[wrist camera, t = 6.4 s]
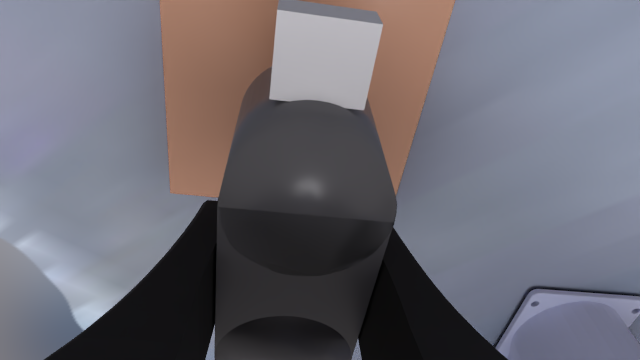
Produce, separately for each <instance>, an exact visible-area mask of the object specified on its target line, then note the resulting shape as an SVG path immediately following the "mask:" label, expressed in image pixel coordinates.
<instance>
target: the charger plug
mask: <svg viewBox="0 0 640 360" xmlns="http://www.w3.org/2000/svg"><path fill="white" fill-rule="evenodd" d="M382 28H383V23H382V21H381V19H380V17H379V15H378V13H377V12H375V11H368V10H361V9H354V8H347V7H340V6H334V5H327V4H320V3H313V2H306V1H299V0H279V2H278V8H277V18H276V29H275V40H274V52H273V63H272V66H271V67H270V68H268V69H267V70H265V71H264V72H262V73H261V74H260V75H259V76H258V77H257V78H256V79H255V80H254V81H253V82H252V83H251V84H250V86H249V88H248V89H247V91H246V93H245V95H244V97H243V100H242V103H241V107H240V111H239V115H238V119H237V123H236V128H235V132H234V136H233V140H232V144H231V148H230V152H229V156H228V160H227V164H226V168H225V172H224V177H223V181H222V185H221V189H220V193H219V197H218V206H217V254H216V305H215V360H351V358H352V355H353V352H354V349H355V346H356V342H357V339H358V336H359V333H360V330H361V327H362V323H363V320H364V317H365V314H366V311H367V307H368V304H369V301H370V298H371V295H372V292H373V288H374V285H375V282H376V279H377V276H378V273H379V269H380V266H381V263H382V260H383V257H384V253H385V250H386V247H387V244H388V241H389V238H390V234H391V231H392V228H393V225H394V221H395V217H396V209H397V202H396V195H395V191H394V187H393V184H392V181H391V177H390V174H389V170H388V167H387V163H386V160H385V156H384V153H383V149H382V146H381V142H380V139H379V135H378V132H377V128H376V125H375V122H374V118H373V115H372V111H371V108H370V104H369V101H368V98H367V95H368V91H369V86H370V82H371V77H372V73H373V68H374V64H375V59H376V55H377V50H378V46H379V41H380V37H381V32H382Z"/></svg>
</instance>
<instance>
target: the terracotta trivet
mask: <svg viewBox="0 0 640 360" xmlns="http://www.w3.org/2000/svg"><path fill="white" fill-rule="evenodd" d="M299 1H306V2H313V3H320V4H327V5H334V6H340V7H347V8H354V9H361V10H368V11H375V12H377V13H378V15H379V17H380V19H381V21H382V23H383V28H382V32H381V37H380V41H379V46H378V50H377V55H376V59H375V64H374V68H373V73H372V77H371V82H370V86H369V91H368V95H367V98H368V101H369V104H370V108H371V111H372V115H373V118H374V122H375V125H376V128H377V132H378V135H379V139H380V142H381V146H382V149H383V153H384V156H385V160H386V163H387V167H388V170H389V174H390V177H391V181H392V184H393V187H394V191H395V195H396V194H397V191H398V187H399V184H400V181H401V177H402V174H403V171H404V168H405V164H406V161H407V158H408V154H409V151H410V148H411V145H412V141H413V138H414V135H415V131H416V128H417V125H418V121H419V118H420V115H421V112H422V108H423V105H424V102H425V98H426V95H427V92H428V89H429V85H430V82H431V79H432V75H433V72H434V69H435V66H436V62H437V59H438V56H439V52H440V49H441V46H442V43H443V39H444V36H445V33H446V29H447V26H448V23H449V20H450V16H451V13H452V10H453V6H454V3H455V0H299ZM278 2H279V0H160V14H161V32H162V50H163V68H164V86H165V104H166V122H167V140H168V158H169V176H170V193H174V194H185V195H196V196H207V197H219V193H220V189H221V185H222V181H223V177H224V172H225V168H226V164H227V160H228V156H229V152H230V148H231V144H232V140H233V136H234V132H235V128H236V123H237V119H238V115H239V111H240V107H241V103H242V100H243V97H244V95H245V93H246V91H247V89H248V88H249V86H250V84H251V83H252V82H253V81H254V80H255V79H256V78H257V77H258V76H259V75H260V74H261V73H262V72H264V71H265V70H267V69H268V68H270V67H271V66H272V63H273V52H274V40H275V29H276V18H277V8H278Z"/></svg>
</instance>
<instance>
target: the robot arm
mask: <svg viewBox="0 0 640 360" xmlns="http://www.w3.org/2000/svg"><path fill="white" fill-rule="evenodd" d="M217 206H218V201H210V200H207V201H206V202H204V203H203V205H202V206H201V208H200V210H199V211H198V213H197V214H196V216H195V217H194V219H193V220H192V221H191V223H190V224H189V226H188V227H187V228H186V230H185V231H184V232H183V234H182V235H181V236H180V237H179V239H178V240H177V241H176V242H175V244H174V245H173V246H172V247H171V249H170V250H169V251H168V252H167V253H166V254H165V256H164V257H163V258H162V259H161V260H160V261H159V262H158V263H157V264H156V265H155V267H154V268H153V269H152V270H151V271H150V272H149V273H148V274H147V275H146V276H145V277H144V278H143V279H142V280H141V281H140V282H139V283H138V284H137V285H136V286H135V287H134V288H133V289H132V290H131V291H130V292H129V293H128V294H127V295H126V296H125V297H124V298H123V299H121V300H120V301H119V302H118V303H117V304H116V305H115V306H114V307H112V308H111V309H110V310H109V311H108V312H106V313H105V314H104V315H103V316H102V317H100V318H99V319H98V320H97V321H96V322H95V323H93V324H92V325H91V326H90V327H88V328H87V329H86V330H84V331H83V332H82V333H81V334H79V335H78V336H77V337H75V338H74V339H72V340H71V341H70V342H68V343H67V344H66V345H64V346H63V347H61V348H60V349H58V350H57V351H56V352H54V353H53V354H51V355H50V356H49V357H47V358H46V359H44V360H205V358H206V355H207V351H208V347H209V343H210V340H211V336H212V332H213V328H214V325H215V305H216V254H217ZM639 315H640V296H627V295H614V294H600V293H587V292H573V291H560V290H546V289H534V290H532V291H530V292H529V294H528V295H527V297H526V298H525V300H524V302H523V303H522V305H521V307H520V308H519V310H518V312H517V313H516V315H515V316H514V318H513V320H512V321H511V323H510V325H509V326H508V328H507V330H506V331H505V333H504V334H503V336H502V338H501V339H500V341H499V343H498V344H497V346H496V348H494V347H493V346H492V345H491V344H490V343H489V342H488V341H487V340H486V339H484V338H483V337H482V336H481V335H480V334H479V333H478V332H477V331H476V330H475V329H474V328H473V327H472V326H471V325H470V324H469V323H468V322H467V321H466V320H465V319H464V318H463V317H462V316H461V315H460V314H459V313H458V311H457V310H456V309H455V308H454V307H453V306H452V305H451V304H450V303H449V302H448V300H447V299H446V298H445V297H444V296H443V294H442V293H441V292H440V291H439V290H438V288H437V287H436V286H435V285H434V284H433V282H432V281H431V280H430V278H429V277H428V276H427V275H426V273H425V272H424V270H423V269H422V268H421V266H420V265H419V264H418V262H417V261H416V260H415V258H414V257H413V256H412V254H411V253H410V251H409V250H408V248H407V247H406V246H405V244H404V243H403V241H402V240H401V238H400V237H399V235H398V234H397V232H396V231H395V229H394V228H392V231H391V234H390V238H389V241H388V244H387V247H386V250H385V253H384V257H383V260H382V263H381V266H380V269H379V273H378V276H377V279H376V282H375V285H374V288H373V292H372V295H371V298H370V301H369V304H368V307H367V311H366V314H365V317H364V320H363V323H362V327H361V330H360V333H359V336H358V339H359V345H360V351H361V356H362V360H640V344H639V343H638V341H637V340H636V338H635V337H634V336H633V334H632V333H631V331H630V330H629V328H628V327H629V326H630V325H631V324H632V323H633V322H634V320H635V319H636V318H637V317H638V316H639Z"/></svg>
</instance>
